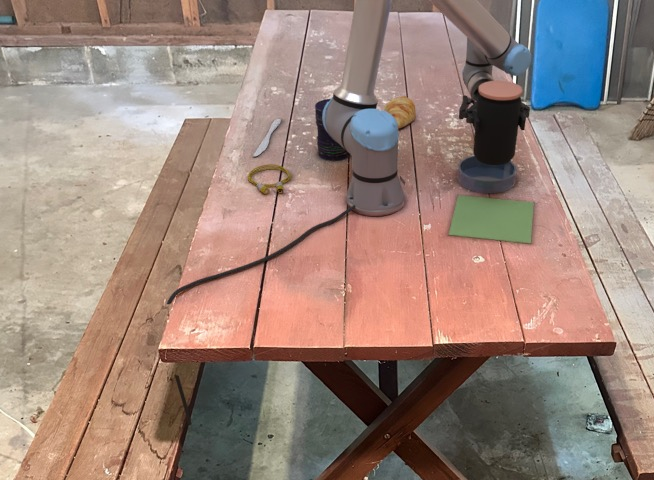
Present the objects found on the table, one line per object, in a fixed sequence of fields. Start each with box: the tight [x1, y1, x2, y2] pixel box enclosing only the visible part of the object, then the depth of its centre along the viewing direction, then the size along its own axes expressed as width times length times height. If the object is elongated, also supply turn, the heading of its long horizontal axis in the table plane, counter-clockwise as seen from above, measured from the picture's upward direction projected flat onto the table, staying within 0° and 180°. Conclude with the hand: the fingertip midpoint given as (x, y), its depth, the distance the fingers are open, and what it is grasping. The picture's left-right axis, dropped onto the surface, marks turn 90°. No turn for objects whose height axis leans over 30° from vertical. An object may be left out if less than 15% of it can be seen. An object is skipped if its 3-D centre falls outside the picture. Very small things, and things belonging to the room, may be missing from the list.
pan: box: [457, 154, 518, 194], centre depth 194 cm, size 16×16×4 cm
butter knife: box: [252, 118, 282, 157], centre depth 216 cm, size 1×27×3 cm
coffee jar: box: [472, 80, 524, 165], centre depth 174 cm, size 11×11×18 cm
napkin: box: [448, 194, 535, 245], centre depth 178 cm, size 20×20×1 cm
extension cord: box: [247, 163, 292, 195], centre depth 194 cm, size 12×16×2 cm
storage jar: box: [314, 98, 351, 162], centre depth 203 cm, size 10×10×15 cm
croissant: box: [383, 96, 416, 130], centre depth 226 cm, size 21×10×8 cm, turn 173°
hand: (500, 125), depth 171 cm, fingers closed on coffee jar, 11 cm apart
